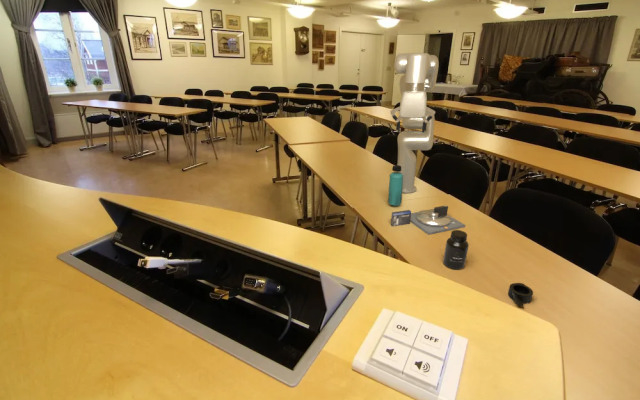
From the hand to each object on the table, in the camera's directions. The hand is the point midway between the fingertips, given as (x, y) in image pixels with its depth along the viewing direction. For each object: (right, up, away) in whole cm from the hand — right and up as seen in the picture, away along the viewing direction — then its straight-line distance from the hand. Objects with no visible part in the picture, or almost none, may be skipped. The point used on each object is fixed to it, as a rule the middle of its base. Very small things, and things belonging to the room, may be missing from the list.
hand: (410, 132), depth 131 cm
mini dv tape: (-3, -38, +6) cm, 39 cm away
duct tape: (+21, -56, -38) cm, 71 cm away
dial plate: (+12, -37, +7) cm, 40 cm away
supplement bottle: (+8, -50, -22) cm, 55 cm away
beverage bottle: (-1, -31, +24) cm, 39 cm away
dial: (+12, -36, +7) cm, 38 cm away
